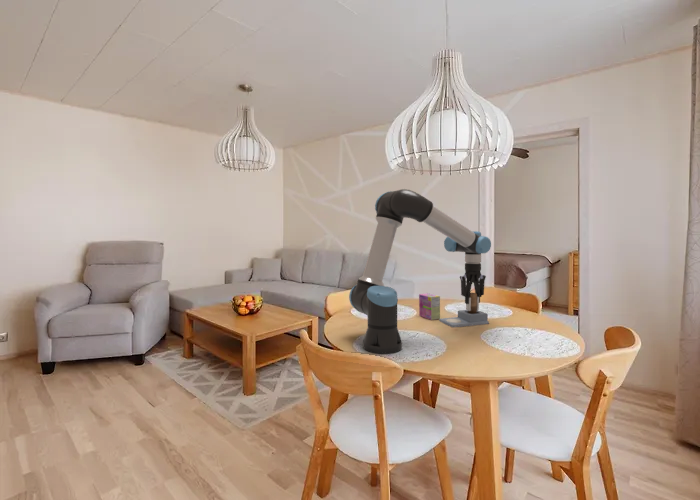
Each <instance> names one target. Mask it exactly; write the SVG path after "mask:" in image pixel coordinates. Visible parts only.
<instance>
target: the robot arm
mask: <svg viewBox="0 0 700 500" xmlns="http://www.w3.org/2000/svg"><path fill="white" fill-rule="evenodd" d="M374 206H375V207H374V209H375V212H376V215H375V220H376V221H377V225H376V228H375V232H374V236H373V239H372V243H371V246H370V249H369V253H368V257H367V260H366V263H365V268H364V271H363V274H362V276H360V277H359V278H358V279H357V283H356V284H355V285H354V286H353V287H351V289H350V292H349V295H348V296H349V298H348V299H349V302H350V305H351V306H352V307H353V309H354V310H356V311H357V312H359V313H362V314H364V315H366V316H367V328H366V331H365V335H364V338H363V340H362V343H363V345H362V347H363V349H364V350H365V351H368V352H370V353H374V354H381V355H383V354H385V355H386V354H394V353H398V352H400V351H401V350H403V348H402V347H403V342H402V337H401V334H400V332H399V329H398V293H397V291H396V289H395V288H393V287H390V286H385V285H384V283H383V279H384V276H385V272H386V268H387V265H388V261H389V258H390V256H391V255H390V254H391V251H392V247H393V243H394V240H395V237H396V233H397V230H398V228H400V227H401V226H402V225H403V221H404V218H405V219H407V218H408V219H412V220H414V221H416V222H418V223H425V224H426V225H428V226H429V227H431V228H432V229H434V230H436V231H437V232H439V233H441V234H442V235H444V236H446V237H445V239H444V241H443V245H444V249H445V250H446V251H447V252H449V253H450V252H451V253H454V252H459V253H460V252H461V253H464V261H465V263H464V271H465V273H464V274H463V275H460V276H459V278H460V295H461V296H462V297H464V303H465V310H468V311H471V298H470V297H469V296H470V293H471V291H472V290H471V289H472V286H473V287H474V293H477V310H478V311H480V303H481V298H482V296H484V295H485V280H486V278H487V276H486V275H484V274H482V273H481V270H482V264H481V263H482V254H487V253H488V252H489V251H490V249H491V248H492V242H491V240H490V238H489V237H488V236H484V235H482V233H481V232H480V231H476V230H475V231H472V230H471V229H469V228H468V227H466V226H464V225H463V224H462V223H460V222H458V221H457V220H456V219H453V218H452V217H451V216H449V215H448V214H447V213H445V212H443V211H442V210H440V209H438V208H437V207H435V206H434V203H433V201H431V200H430V199H428V198H426V197H424V196H423V195H422V194H420V193H418V192H416V191H413V190H410V189H405V188H404V189H403V188H402V189H398V190H392V191H391V190H390V191H386V192H384V193H382V194H381V195H380V196H379V197H377V200H376V201H375V204H374Z"/></svg>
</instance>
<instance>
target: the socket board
mask: <svg viewBox="0 0 700 500" xmlns="http://www.w3.org/2000/svg"><path fill="white" fill-rule="evenodd" d="M488 315H489V313H487V312H484V311H482V310H477V313H476V314H470V313H468V310H466V309H463V310H457V316H453V317H444V318H443V317H442V318H441V317H440V319H438V321H439V322H440V323H442V324H444V325H447V326H449V327H450V328H459V327H460V328H461V327H470V326H472V327H473V326H481V325H489V324H490V320H488V317H489V316H488Z"/></svg>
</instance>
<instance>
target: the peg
mask: <svg viewBox="0 0 700 500" xmlns="http://www.w3.org/2000/svg"><path fill="white" fill-rule="evenodd" d="M469 297H470V298H471V311H468V313H470V314H476V313H477V293H475V292H470V296H469Z"/></svg>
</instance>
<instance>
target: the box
mask: <svg viewBox="0 0 700 500" xmlns="http://www.w3.org/2000/svg"><path fill="white" fill-rule="evenodd" d="M418 300H419V301H418V307H419V309H418V311H419V314H418V315H419V317H422V318H425V319H427V320H430V321H434V320H439V319H441V296H439V295H436V294H431V293H428V292H426V293H419V295H418Z"/></svg>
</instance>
